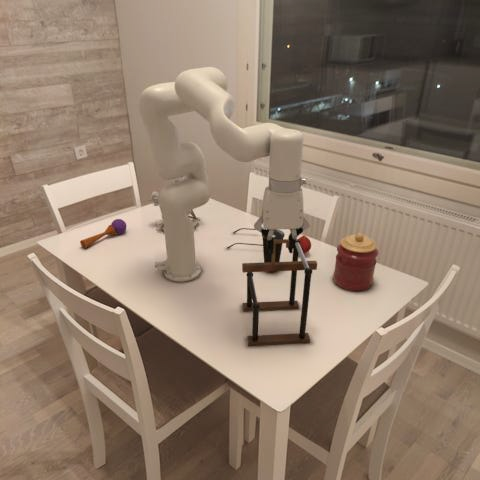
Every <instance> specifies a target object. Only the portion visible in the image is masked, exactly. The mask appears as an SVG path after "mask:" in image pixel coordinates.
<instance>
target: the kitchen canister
mask: <svg viewBox="0 0 480 480" xmlns="http://www.w3.org/2000/svg"><path fill="white" fill-rule="evenodd" d="M336 252H337V254H336V255H335V264H334V265H335V266H334V270H333V274H332V278H333V282H334V283H335V284H336V285H337V286H338V287H340V288H342V289H344V290H347V291H352V292H359V291H365V290H368V289H369V288H370V287H371V286H372V284H373V282H374V276H375V275H374V274H375V269H376V265H377V259H376V258H377V257H378V255H379V250H378V245H377V242H376V241H374V240H373V239H372V238H371V237H369V236H367V235H364V234H363V233H361V232H359V233H356V234H350V235H347V236H345V237H343V238H341V240H340V243H339V244H338V245H337V246H336Z"/></svg>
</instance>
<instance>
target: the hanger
mask: <svg viewBox="0 0 480 480" xmlns="http://www.w3.org/2000/svg"><path fill="white" fill-rule="evenodd" d="M278 243H282V244H285V248H286V249H288V248H289V244H290V240H289V239H288V238H285V239H284V238H283V239H281V240H274V246H273V253H272V262H264V261H263V262H243V263H242V264H241V271H242V273H244V274H245V273H248V272H252V273H270V271H277V272H291V271H296V270H297V271H305V268H304V266H303V263H302V261H301V260H298V261H292V260H291V261H280V262H275V249H276V244H278ZM306 261H307V263H308V266H309V268H311V269H312V271H316V270H318V262H317V260H306Z"/></svg>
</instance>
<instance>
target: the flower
mask: <svg viewBox="0 0 480 480" xmlns="http://www.w3.org/2000/svg"><path fill="white" fill-rule="evenodd" d="M186 179H187V178H186V177H184V176H182V177H179V178H176V179H174V183H176V182H179V181H183V180H186ZM162 188H163V187H161V188H159V190H158V191H152V193H151V196H150V197H151V199H148V200H147V201H149V202H152V203H153V206H154V207H158V206H159V203H158V194H159V192H160V190H161V189H162ZM187 216H188V217H189V218H190V219H191V221H192V223H193V227H194V231H195V230H196V229H195V226H196V225H197V224H198V222H200V219H199V217H197V216H196V214H195V212H194V209H192V210H190V211H188V212H187ZM156 224H157V227H158V228H156V229H155V231H157V230H158V229H160V231H163V232H164V223H163V217H162V216H161V219H158V220H157V221H156Z"/></svg>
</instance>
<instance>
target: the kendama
mask: <svg viewBox="0 0 480 480" xmlns="http://www.w3.org/2000/svg"><path fill="white" fill-rule="evenodd" d="M126 231H127V223H126V222H125V220H123V219H121V218H117V219H114V220H113V221H112V222H111V223H110V224H109V225H108V226H107V228H106V229H105V230H104V231H103V232H100V233H98V234H95V235H92V236H90V237H87V238H84V239H82V240H80V241H79V243H80V245H81V247H82V248H83V249H87V248H88V247H90V246H91V245H93V244H94V243H96V242H98V241H99V240H100V239H101V238H103V237H105V236H113V235H121V234H122V235H123V234H124V233H125V232H126Z"/></svg>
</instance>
